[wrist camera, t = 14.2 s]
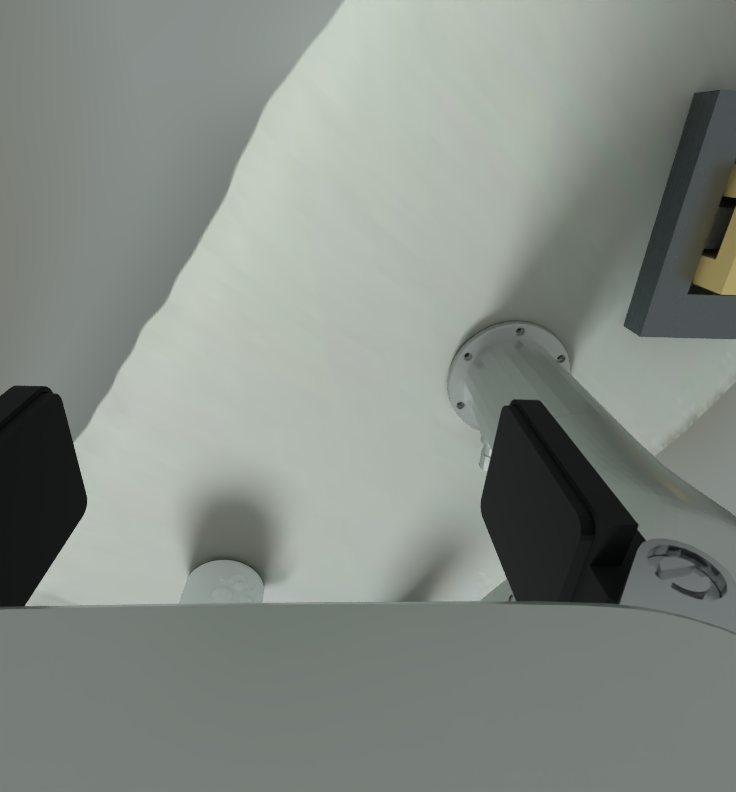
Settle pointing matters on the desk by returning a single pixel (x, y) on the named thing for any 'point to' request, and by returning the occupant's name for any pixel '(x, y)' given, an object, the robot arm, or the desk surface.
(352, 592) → the desk surface
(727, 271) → the yellow u-shaped block
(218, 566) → the mug
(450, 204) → the desk surface
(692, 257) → the grey slotted board
